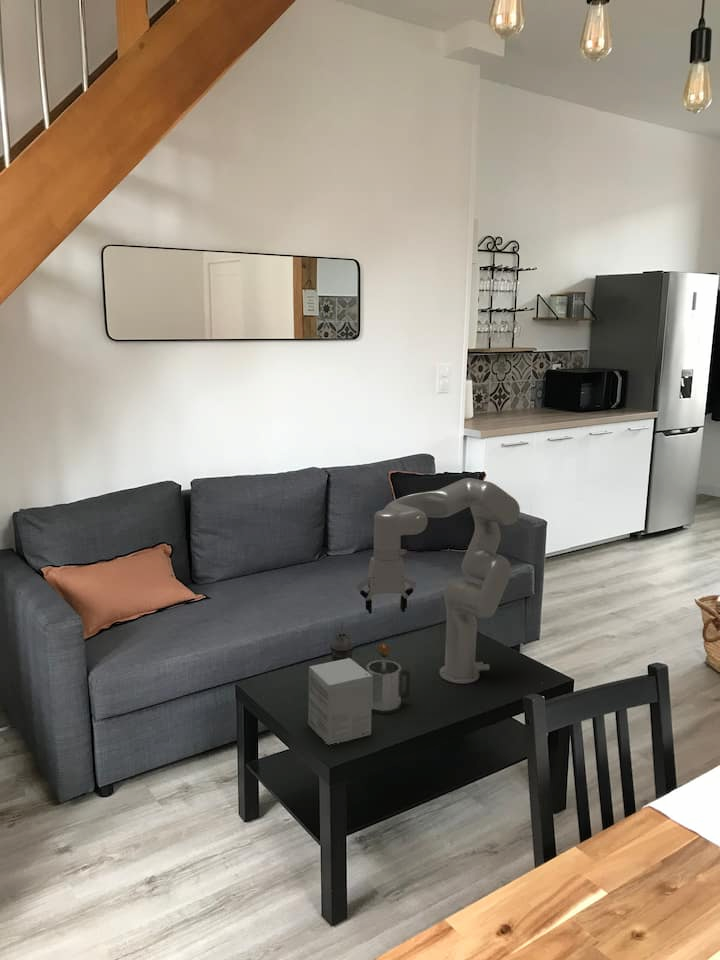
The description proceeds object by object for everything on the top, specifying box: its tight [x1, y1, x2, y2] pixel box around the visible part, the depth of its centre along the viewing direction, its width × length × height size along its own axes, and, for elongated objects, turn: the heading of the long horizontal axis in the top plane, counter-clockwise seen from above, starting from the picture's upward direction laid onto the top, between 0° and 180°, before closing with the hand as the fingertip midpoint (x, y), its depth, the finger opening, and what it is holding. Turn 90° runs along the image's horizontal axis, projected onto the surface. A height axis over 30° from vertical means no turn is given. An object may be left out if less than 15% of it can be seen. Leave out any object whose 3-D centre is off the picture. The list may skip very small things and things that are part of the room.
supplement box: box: [307, 658, 372, 746], centre depth 212 cm, size 13×13×18 cm
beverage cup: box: [330, 621, 355, 662], centre depth 241 cm, size 7×7×20 cm
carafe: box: [365, 659, 411, 715], centre depth 227 cm, size 13×10×12 cm
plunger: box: [376, 642, 392, 674], centre depth 226 cm, size 8×8×16 cm
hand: (386, 611), depth 223 cm, fingers open, 9 cm apart
